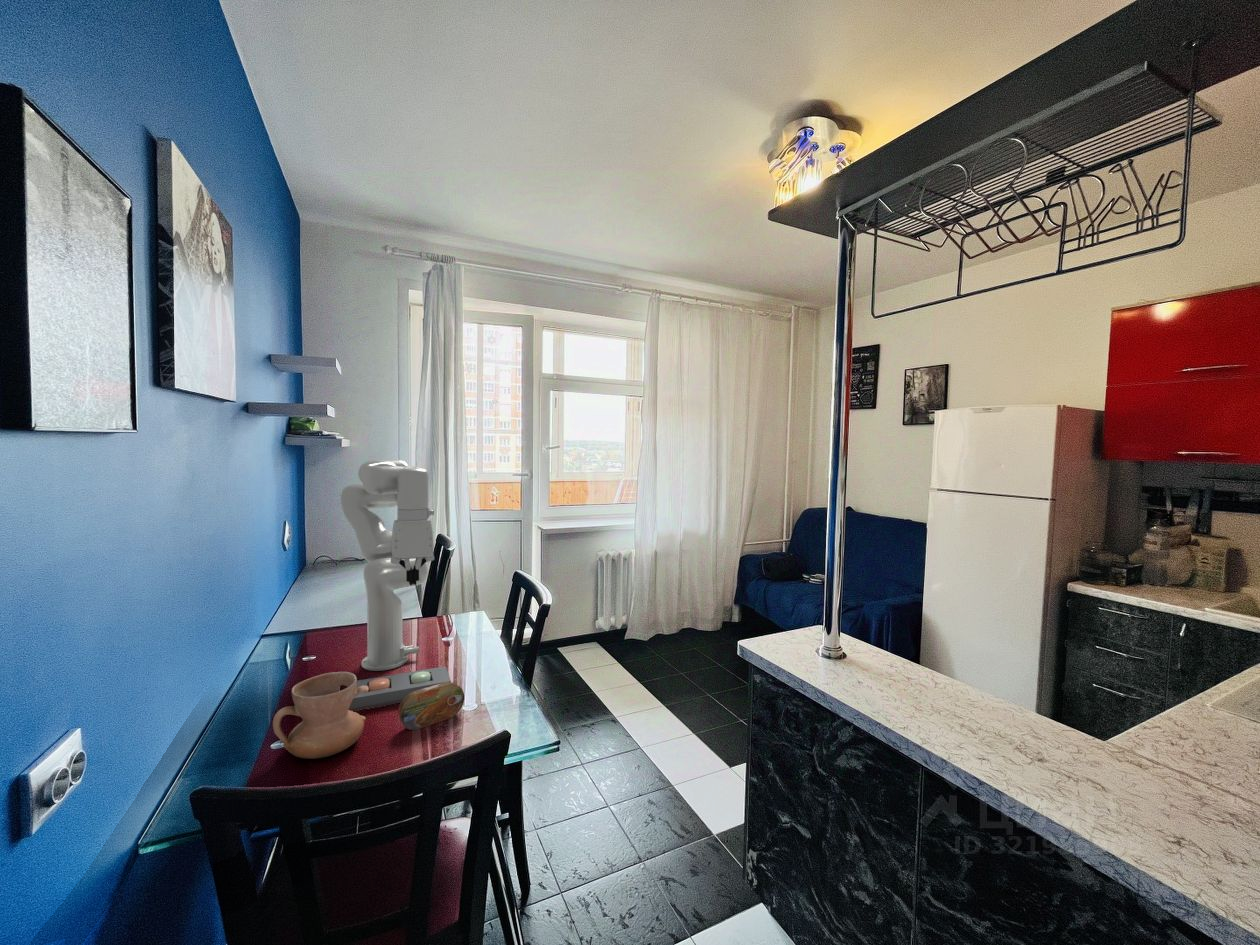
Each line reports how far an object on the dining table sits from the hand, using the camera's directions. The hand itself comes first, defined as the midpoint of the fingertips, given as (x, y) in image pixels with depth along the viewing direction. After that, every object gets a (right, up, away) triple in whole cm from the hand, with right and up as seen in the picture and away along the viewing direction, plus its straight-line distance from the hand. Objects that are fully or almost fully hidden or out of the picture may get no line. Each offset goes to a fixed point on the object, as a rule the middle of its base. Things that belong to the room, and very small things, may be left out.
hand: (412, 583), depth 137 cm
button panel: (-3, -29, -1) cm, 29 cm away
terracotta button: (-7, -28, -3) cm, 29 cm away
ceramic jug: (-9, -31, -25) cm, 40 cm away
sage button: (+2, -28, +2) cm, 28 cm away
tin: (+10, -30, -13) cm, 35 cm away
